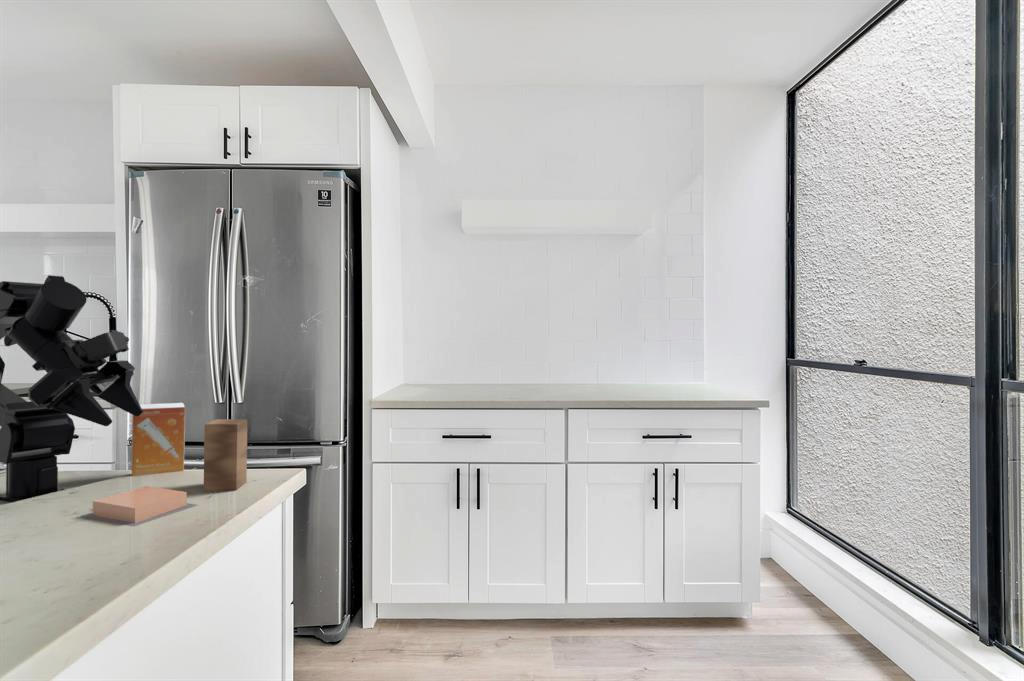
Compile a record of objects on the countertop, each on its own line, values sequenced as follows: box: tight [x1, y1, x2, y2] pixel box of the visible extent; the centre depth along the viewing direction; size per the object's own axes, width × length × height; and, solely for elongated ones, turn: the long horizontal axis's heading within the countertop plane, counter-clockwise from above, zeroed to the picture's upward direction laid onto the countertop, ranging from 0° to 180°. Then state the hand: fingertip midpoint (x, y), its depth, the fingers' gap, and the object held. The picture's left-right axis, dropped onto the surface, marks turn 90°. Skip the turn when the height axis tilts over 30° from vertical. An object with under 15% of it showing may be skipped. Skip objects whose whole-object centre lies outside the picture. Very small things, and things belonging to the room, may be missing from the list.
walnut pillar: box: [203, 418, 248, 492], centre depth 95 cm, size 5×5×12 cm
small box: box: [131, 402, 186, 477], centre depth 105 cm, size 8×6×13 cm
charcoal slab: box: [81, 502, 198, 527], centre depth 82 cm, size 10×10×2 cm
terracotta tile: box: [92, 485, 188, 523], centre depth 82 cm, size 8×8×2 cm
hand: (125, 419), depth 92 cm, fingers open, 9 cm apart
